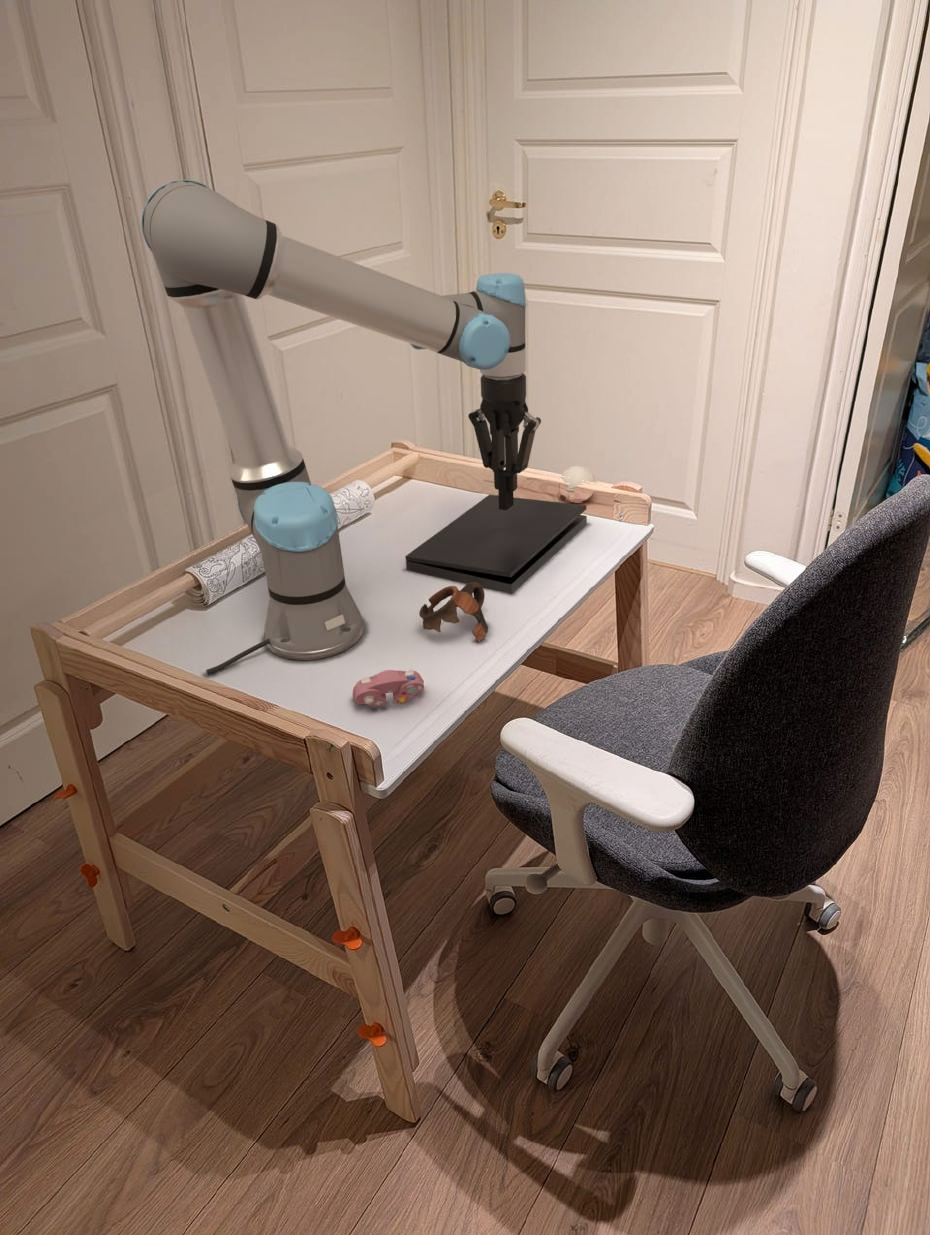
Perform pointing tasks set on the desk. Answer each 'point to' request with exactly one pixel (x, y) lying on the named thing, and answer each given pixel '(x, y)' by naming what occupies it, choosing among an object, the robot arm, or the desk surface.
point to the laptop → (499, 581)
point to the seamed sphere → (577, 477)
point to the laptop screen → (497, 535)
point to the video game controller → (388, 687)
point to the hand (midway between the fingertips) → (506, 506)
